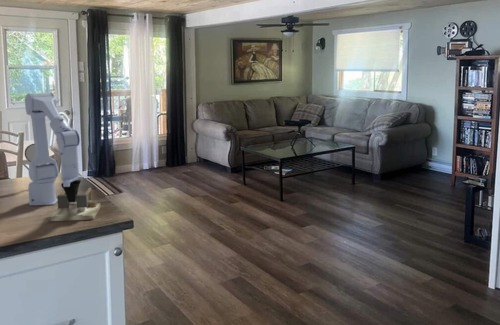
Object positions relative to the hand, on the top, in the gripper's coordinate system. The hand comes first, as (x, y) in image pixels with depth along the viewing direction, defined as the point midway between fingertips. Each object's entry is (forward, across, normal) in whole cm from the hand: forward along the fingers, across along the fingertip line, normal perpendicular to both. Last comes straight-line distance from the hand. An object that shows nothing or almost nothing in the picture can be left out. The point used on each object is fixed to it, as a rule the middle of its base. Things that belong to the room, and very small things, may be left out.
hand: (72, 201), depth 172 cm
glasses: (+2, +5, 0) cm, 5 cm away
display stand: (+6, +4, 0) cm, 8 cm away
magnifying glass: (+6, +46, +25) cm, 53 cm away
